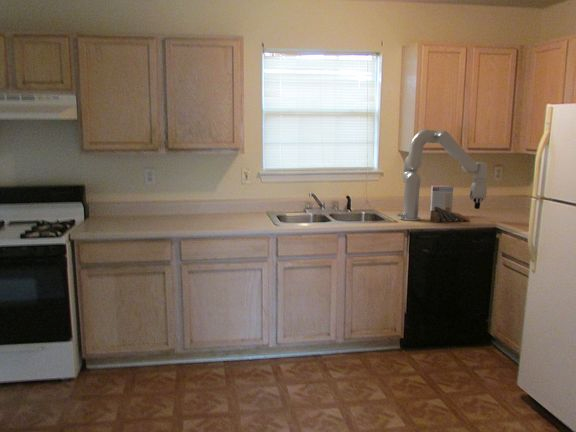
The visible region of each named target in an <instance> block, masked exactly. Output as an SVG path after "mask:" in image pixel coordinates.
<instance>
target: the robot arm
mask: <svg viewBox="0 0 576 432" xmlns="http://www.w3.org/2000/svg"><path fill="white" fill-rule="evenodd" d="M427 143H429V144H439V145H441V147H442V148H443V149H444V151H445V152H447V154H448V155H449V156H450V157H452V159H454V160H456V161H457V162H458V163H459V164H460V165H461V170H462V171H463V172H464V173H466V174H472V175H473V182H471V184H470V185H471V186H470V188H469V189H470V190H469V195H468V196H469V199H470V201H473V202H474V205H473V206H474V209H477V210H480V208H481V204H482V201H486V198H487V195H488V194H487V191H488V189H487V182H488V179H487V174H488V173H487V171H488V163H487V162H486V161H485V162H484V161H475V160H474V159H473V158H472V156H471V155H469V153H467V151H466V150H465V149H464V148H463V147H461V146H460V144H459V143H458V142H457V141H456V140H455V138H454V137H453V136H452V135H451V134H450V133H449V132H448V131H446V130H436V129H435V130H434V129H433V130H432V129H428V128H425V129H420V130H418V132H417V133H416V134H415V135H414V136H413V138H412V140H411V142H410V144H409V149H408V155H407V156H406V158H405V159H404V161H403V162H404V163H403V172H402V180H403V182H404V183H405V184H404V194H403V195H404V197H403V211H402V212H401V213H396V217H400V219H401V220H404V221H411V222H412V221H413V222H414V221H416V222H417V221H421V217H419V205H420V189H421V180H422V179H421V176H420V174H419V173H418V170H419V169H420V168H421V166H422V160H423V159H422V158H423V150H424V147H425V145H426V144H427Z"/></svg>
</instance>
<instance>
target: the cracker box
mask: <svg viewBox="0 0 576 432" xmlns="http://www.w3.org/2000/svg"><path fill="white" fill-rule="evenodd" d="M430 190H431V191H430V207H429V208H430V209H429V210H430V212H429V214H430V216H431V210H435V209H434V207H439V208H440V209H443V210H446V211H449V212H452V213H453V200H454V199H453V198H454V196H453V195H454V186H453V185H440V184H439V185H436V184H435V185H433V184H432V185H431V189H430Z"/></svg>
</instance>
